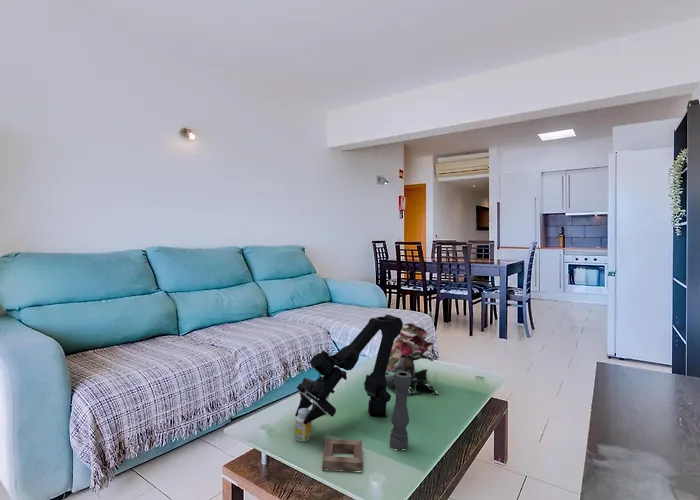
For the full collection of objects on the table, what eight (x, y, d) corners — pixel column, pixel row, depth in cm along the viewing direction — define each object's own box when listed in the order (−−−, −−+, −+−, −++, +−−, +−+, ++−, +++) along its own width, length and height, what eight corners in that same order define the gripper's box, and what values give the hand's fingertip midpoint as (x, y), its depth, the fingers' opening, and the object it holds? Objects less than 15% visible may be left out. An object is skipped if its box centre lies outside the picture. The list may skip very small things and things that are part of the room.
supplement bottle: (295, 442, 130) (296, 414, 129) (294, 433, 135) (295, 407, 134) (311, 441, 131) (312, 414, 130) (309, 433, 136) (311, 406, 135)
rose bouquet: (412, 371, 200) (416, 314, 198) (445, 395, 173) (449, 329, 171) (367, 375, 191) (370, 316, 189) (394, 401, 164) (398, 332, 162)
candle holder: (387, 440, 134) (392, 370, 132) (405, 440, 134) (409, 370, 133) (391, 451, 127) (395, 377, 126) (409, 451, 128) (414, 378, 126)
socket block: (361, 449, 127) (361, 440, 127) (361, 472, 115) (362, 463, 115) (325, 447, 128) (325, 438, 127) (322, 470, 116) (322, 460, 115)
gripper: (302, 361, 141) (273, 397, 135) (330, 379, 126) (299, 420, 120) (319, 378, 146) (292, 413, 140) (348, 397, 131) (319, 437, 125)
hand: (299, 420), depth 131 cm, fingers closed on supplement bottle, 5 cm apart
